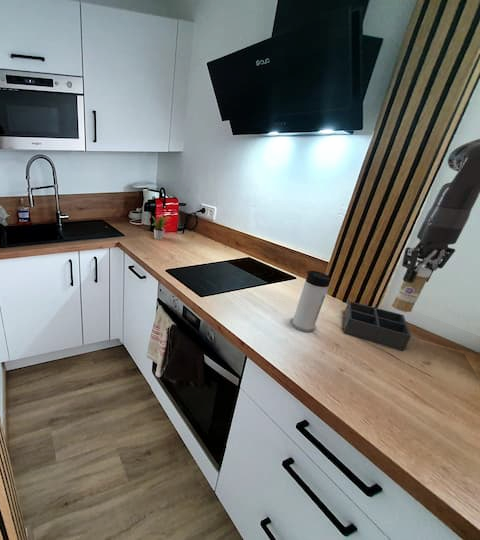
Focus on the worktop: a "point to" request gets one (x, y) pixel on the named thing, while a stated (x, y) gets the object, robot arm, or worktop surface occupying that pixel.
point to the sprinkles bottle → (411, 291)
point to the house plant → (159, 227)
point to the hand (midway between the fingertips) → (415, 281)
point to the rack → (376, 325)
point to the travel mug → (311, 301)
